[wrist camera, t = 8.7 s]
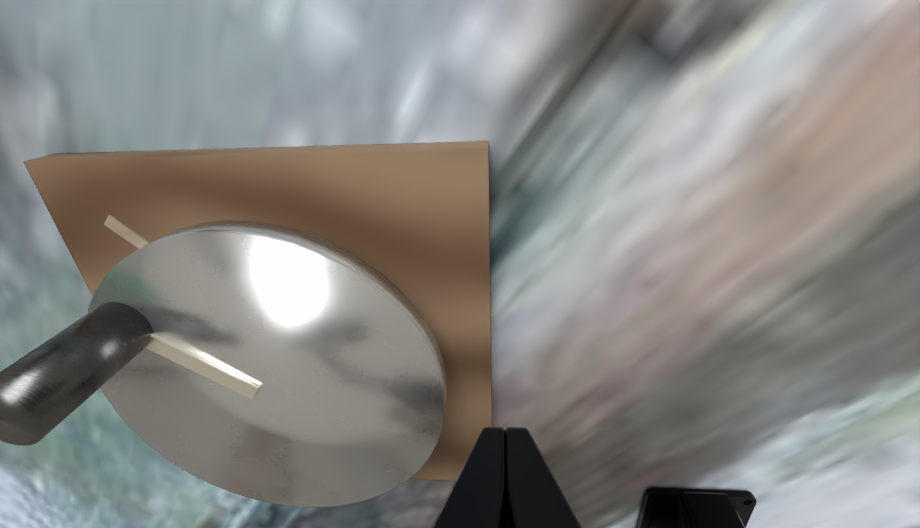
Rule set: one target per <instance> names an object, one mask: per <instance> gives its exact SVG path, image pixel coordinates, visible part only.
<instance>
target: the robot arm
mask: <svg viewBox="0 0 920 528" xmlns="http://www.w3.org/2000/svg"><path fill="white" fill-rule="evenodd" d="M505 441H506V444H505ZM755 505H756V499H755V497H754V496H753V494H752V493H751V492H748V491H729V490H702V489H676V488H650V489H648V490H647V491H646V493H645V497H644V501H643V505H642V509H641V513H640V517H639V522H638V526H637V528H745V527H746V525H747V523H748V520H749V518H750V516H751V514H752V511H753V509H754V507H755ZM507 521H508V526H507ZM432 528H581V526H580V524H579V522H578V520H577V519H576V517H575V515H574V513H573V511H572V509H571V507H570V506H569V504H568V502H567V500H566V498H565V496H564V495H563V493H562V491H561V489H560V487H559V485H558V484H557V482H556V480H555V478H554V476H553V474H552V473H551V471H550V469H549V467H548V465H547V463H546V461H545V460H544V458H543V456H542V454H541V452H540V450H539V449H538V447H537V445H536V443H535V441H534V439H533V438H532V436H531V434H530V432H529V431H528V429H526V428H518V427H509V428H507V429H506V431H505V430H504V428H502V427H485V428H483V430H482V431H481V433H480V435H479V437H478V438H477V440H476V442H475V444H474V446H473V448H472V450H471V452H470V454H469V456H468V458H467V460H466V462H465V464H464V466H463V468H462V470H461V472H460V474H459V475H458V477H457V479H456V481H455V483H454V485H453V487H452V489H451V491H450V493H449V495H448V497H447V499H446V501H445V503H444V505H443V507H442V509H441V511H440V513H439V514H438V516H437V518H436V520H435V522H434V524H433V526H432Z"/></svg>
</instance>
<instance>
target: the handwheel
mask: <svg viewBox="0 0 920 528" xmlns="http://www.w3.org/2000/svg"><path fill="white" fill-rule="evenodd" d="M100 387H101V388H102V390H103V392H104V394H105V396H106V398H107V399H108V400H109V402H110V403H111V405H112V406H113V408H114V409H115V411H116V412H117V413H118V414H119V416H120V417H121V418H122V419H123V420H124V421H125V423H126V424H127V425H128V426H129V427H130V428H131V429H132V430H133V431H134V432H135V433H136V434H137V435H138V436H139V437H140V438H141V439H142V440H143V441H144V442H145V443H147V444H148V445H149V446H150V447H152V448H153V449H154V450H155V451H157V452H158V453H159V454H160V455H162V456H163V457H165V458H166V459H168V460H169V461H170V462H172V463H173V464H175V465H176V466H178V467H180V468H181V469H183V470H185V471H187V472H188V473H190V474H192V475H194V476H195V477H197V478H199V479H202V480H204V481H206V482H208V483H210V484H212V485H214V486H217V487H219V488H222V489H225V490H227V491H230V492H232V493H235V494H239V495H242V496H245V497H248V498H252V499H256V500H260V501H265V502H269V503H275V504H282V505H288V506H301V507H330V506H339V505H347V504H352V503H356V502H361V501H365V500H368V499H371V498H374V497H377V496H380V495H382V494H384V493H386V492H388V491H390V490H393V489H394V488H396V487H398V486H399V485H401V484H402V483H404V482H405V481H407V480H408V479H409V478H410V477H412V476H413V475H414V474H415V473H416V472H417V471H418V470H419V469H420V468H421V467H422V466H423V465H424V463H425V462H426V461H427V460H428V458H429V457H430V455H431V453H432V452H433V450H434V448H435V446H436V445H437V442H438V439H439V436H440V433H441V430H442V424H443V417H444V410H445V403H446V395H447V383H446V372H445V367H444V362H443V358H442V355H441V352H440V350H439V347H438V344H437V342H436V339H435V337H434V335H433V334H432V332H431V330H430V328H429V326H428V324H427V323H426V321H425V319H424V318H423V317H422V315H421V314H420V313H419V311H418V310H417V309H416V307H415V306H414V304H413V303H412V302H411V301H410V300H409V299H408V298H407V297H406V296H405V295H404V293H403V292H402V291H401V290H400V289H399V288H398V287H397V286H396V285H395V284H394V283H392V282H391V281H390V280H389V279H388V278H387V277H385V276H384V275H383V274H382V273H381V272H379V271H378V270H377V269H376V268H374V267H373V266H371V265H370V264H368V263H367V262H365V261H364V260H362V259H361V258H359V257H358V256H356V255H355V254H353V253H351V252H349V251H347V250H345V249H343V248H341V247H339V246H337V245H335V244H333V243H332V242H330V241H327V240H324V239H322V238H319V237H317V236H314V235H311V234H309V233H306V232H304V231H300V230H296V229H292V228H288V227H285V226H281V225H277V224H270V223H263V222H256V221H237V220H222V221H214V222H205V223H198V224H195V225H191V226H187V227H183V228H179V229H177V230H174V231H172V232H170V233H168V234H165V235H163V236H161V237H159V238H157V239H155V240H153V241H152V242H150V243H148V244H146V245H145V246H143V247H141V248H139V249H138V250H136V251H135V252H133V253H132V254H130V255H129V256H127V257H126V258H124V259H123V260H121V261H120V262H118V263H117V264H116V265H115V266H114V267H113V268H112V269H111V271H110V272H109V273H108V274H107V275H106V276H105V277H104V278H103V280H102V281H101V283H100V285H99V286H98V288H97V289H96V291H95V293H94V295H93V298H92V301H91V303H90V306H89V309H88V314H87V315H85V316H84V317H82V318H81V319H79V320H78V321H76V322H75V323H73V324H72V325H70V326H69V327H67V328H66V329H64V330H63V331H61V332H60V333H58V334H57V335H55V336H54V337H52V338H51V339H49V340H48V341H46V342H45V343H43V344H42V345H40V346H39V347H37V348H36V349H34V350H33V351H31V352H30V353H28V354H27V355H25V356H24V357H22V358H21V359H19V360H18V361H16V362H15V363H13V364H12V365H11V366H9V367H8V368H6V369H5V370H3V371H2V372H0V440H1V441H4V442H7V443H10V444H15V445H32V444H35V443H37V442H38V441H40V440H41V439H42V438H43V437H44V436H45V435H46V434H48V433H49V432H50V431H51V430H52V429H53V428H54V427H56V426H57V425H58V424H59V423H60V422H61V421H62V420H64V419H65V418H66V417H67V416H68V415H69V414H70V413H72V412H73V411H74V410H75V409H76V408H77V407H78V406H80V405H81V404H82V403H83V402H84V401H85V400H86V399H88V398H89V397H90V396H91V395H92V394H93V393H94V392H96V391H97V390H98V389H99V388H100Z"/></svg>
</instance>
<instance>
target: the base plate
mask: <svg viewBox="0 0 920 528" xmlns="http://www.w3.org/2000/svg"><path fill="white" fill-rule="evenodd" d="M24 164H25V166H26V168H27V170H28V172H29V174H30V176H31V177H32V179H33V181H34V183H35V185H36V187H37V189H38V191H39V193H40V195H41V197H42V199H43V201H44V203H45V205H46V207H47V209H48V211H49V212H50V214H51V216H52V218H53V220H54V222H55V224H56V226H57V228H58V230H59V232H60V234H61V236H62V238H63V240H64V242H65V244H66V246H67V247H68V249H69V251H70V253H71V255H72V257H73V259H74V261H75V263H76V265H77V267H78V269H79V271H80V273H81V275H82V277H83V279H84V281H85V282H86V284H87V286H88V288H89V290H90V292H91V294H92V296H93V295H94V293H95V291H96V289H97V288H98V286H99V285H100V283H101V281H102V280H103V278H104V277H105V276H106V275H107V274H108V273H109V272H110V271H111V269H112V268H113V267H114V266H115V265H116V264H117V263H118V262H120V261H121V260H123V259H124V258H126V257H127V256H129V255H130V254H132V253H133V252H135V251H136V250H138V249H139V248H141V247H143V246H145V245H146V244H148V243H150V242H152V241H153V240H155V239H157V238H159V237H161V236H163V235H165V234H168V233H170V232H172V231H174V230H177V229H179V228H183V227H187V226H191V225H195V224H198V223H205V222H214V221H222V220H237V221H256V222H263V223H270V224H277V225H281V226H285V227H288V228H292V229H296V230H300V231H304V232H306V233H309V234H311V235H314V236H317V237H319V238H322V239H324V240H327V241H330V242H332V243H333V244H335V245H337V246H339V247H341V248H343V249H345V250H347V251H349V252H351V253H353V254H355V255H356V256H358V257H359V258H361V259H362V260H364V261H365V262H367V263H368V264H370V265H371V266H373V267H374V268H376V269H377V270H378V271H379V272H381V273H382V274H383V275H384V276H385V277H387V278H388V279H389V280H390V281H391V282H392V283H394V284H395V285H396V286H397V287H398V288H399V289H400V290H401V291H402V292H403V293H404V295H405V296H406V297H407V298H408V299H409V300H410V301H411V302H412V303H413V304H414V306H415V307H416V309H417V310H418V311H419V313H420V314H421V315H422V317H423V318H424V319H425V321H426V323H427V324H428V326H429V328H430V330H431V332H432V334H433V335H434V337H435V339H436V342H437V344H438V347H439V350H440V352H441V355H442V358H443V362H444V367H445V372H446V383H447V395H446V403H445V410H444V417H443V424H442V430H441V433H440V436H439V439H438V442H437V445H436V446H435V448H434V450H433V452H432V453H431V455H430V457H429V458H428V460H427V461H426V462H425V463H424V465H423V466H422V467H421V468H420V469H419V470H418V471H417V472H416V473H415V474H414V475H413V476H412V477H410V478H409V479H422V480H448V481H456V479H457V477H458V475H459V474H460V472H461V470H462V468H463V466H464V464H465V462H466V460H467V458H468V456H469V454H470V452H471V450H472V448H473V446H474V444H475V442H476V440H477V438H478V437H479V435H480V433H481V431H482V430H483V428H485V427H492V382H491V296H490V209H489V141H481V142H446V143H411V144H376V145H341V146H306V147H271V148H236V149H201V150H166V151H131V152H96V153H61V154H52V155H48V156H44V157H40V158H36V159H32V160H28V161H24ZM182 470H183V469H182Z"/></svg>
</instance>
